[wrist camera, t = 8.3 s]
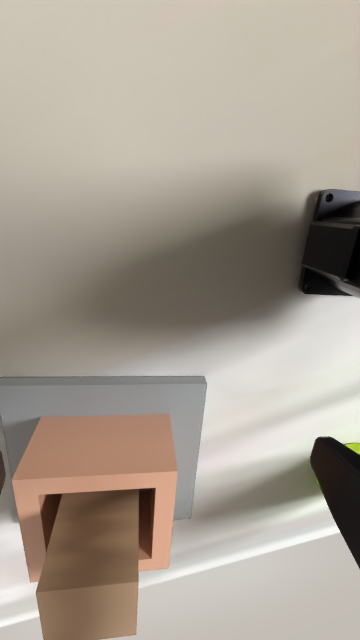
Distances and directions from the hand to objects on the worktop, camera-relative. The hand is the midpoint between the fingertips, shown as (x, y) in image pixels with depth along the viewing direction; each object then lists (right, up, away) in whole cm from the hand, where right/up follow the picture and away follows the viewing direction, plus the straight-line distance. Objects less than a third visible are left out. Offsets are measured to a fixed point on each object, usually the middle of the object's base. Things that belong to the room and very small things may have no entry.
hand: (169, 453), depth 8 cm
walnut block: (-5, -7, +14) cm, 17 cm away
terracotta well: (-5, -7, +15) cm, 17 cm away
